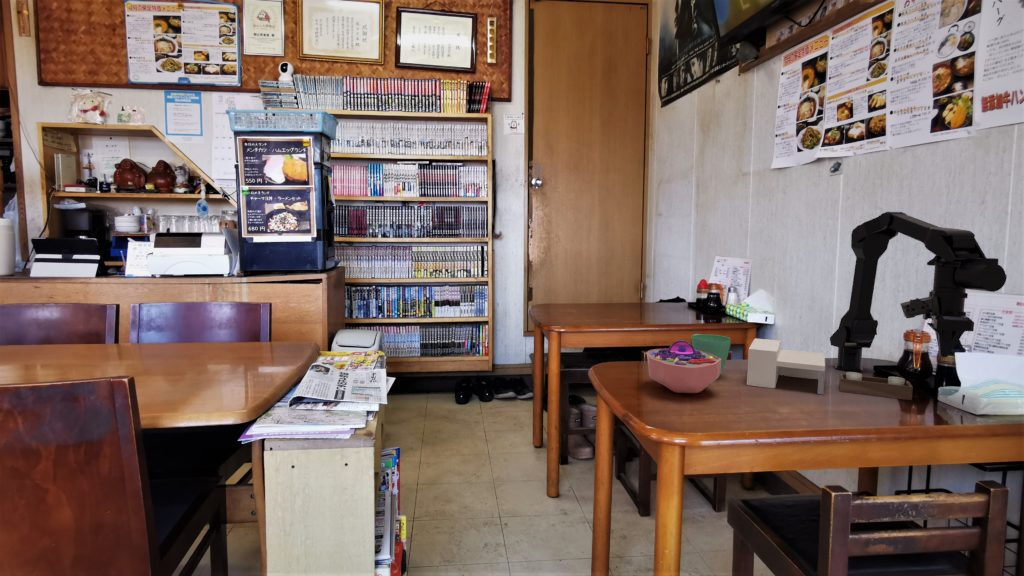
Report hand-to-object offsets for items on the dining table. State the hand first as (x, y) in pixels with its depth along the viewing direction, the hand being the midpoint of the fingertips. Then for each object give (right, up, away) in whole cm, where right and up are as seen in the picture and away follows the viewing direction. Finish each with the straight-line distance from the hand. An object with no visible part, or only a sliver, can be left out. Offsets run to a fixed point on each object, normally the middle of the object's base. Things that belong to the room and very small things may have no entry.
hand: (943, 356), depth 126 cm
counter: (-28, -8, +16) cm, 33 cm away
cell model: (-56, -9, +7) cm, 57 cm away
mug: (-45, -8, +24) cm, 52 cm away
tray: (-11, -9, +7) cm, 16 cm away
